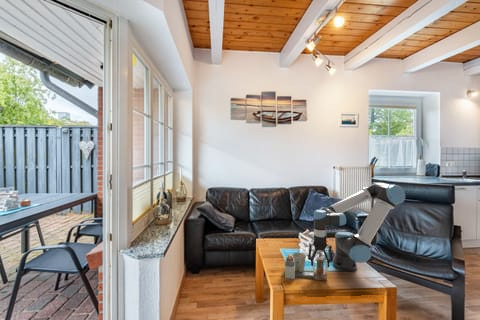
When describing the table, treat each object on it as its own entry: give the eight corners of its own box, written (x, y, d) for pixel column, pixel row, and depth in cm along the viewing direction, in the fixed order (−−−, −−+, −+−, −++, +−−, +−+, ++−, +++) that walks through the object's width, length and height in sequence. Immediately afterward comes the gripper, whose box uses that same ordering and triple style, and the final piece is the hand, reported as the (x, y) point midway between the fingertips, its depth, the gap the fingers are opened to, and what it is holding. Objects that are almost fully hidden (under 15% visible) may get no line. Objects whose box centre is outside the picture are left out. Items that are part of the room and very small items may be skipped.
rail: (325, 276, 144) (325, 274, 144) (326, 279, 140) (326, 277, 140) (294, 273, 148) (294, 270, 148) (294, 276, 144) (294, 273, 144)
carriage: (325, 275, 145) (325, 257, 145) (326, 280, 139) (326, 261, 139) (313, 274, 147) (313, 256, 146) (314, 279, 141) (314, 260, 140)
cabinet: (294, 271, 151) (294, 256, 150) (294, 278, 142) (294, 263, 142) (285, 270, 152) (285, 255, 152) (285, 277, 143) (285, 262, 143)
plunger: (292, 259, 148) (292, 254, 148) (292, 261, 145) (292, 256, 145) (287, 258, 148) (287, 254, 148) (287, 260, 146) (287, 256, 146)
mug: (306, 273, 148) (306, 258, 148) (286, 271, 150) (286, 256, 150) (305, 267, 156) (305, 252, 156) (286, 265, 159) (286, 251, 158)
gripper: (335, 234, 144) (335, 270, 144) (303, 232, 148) (303, 266, 149) (338, 238, 136) (338, 276, 137) (303, 236, 141) (303, 272, 141)
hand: (320, 271), depth 143 cm, fingers closed on carriage, 7 cm apart
